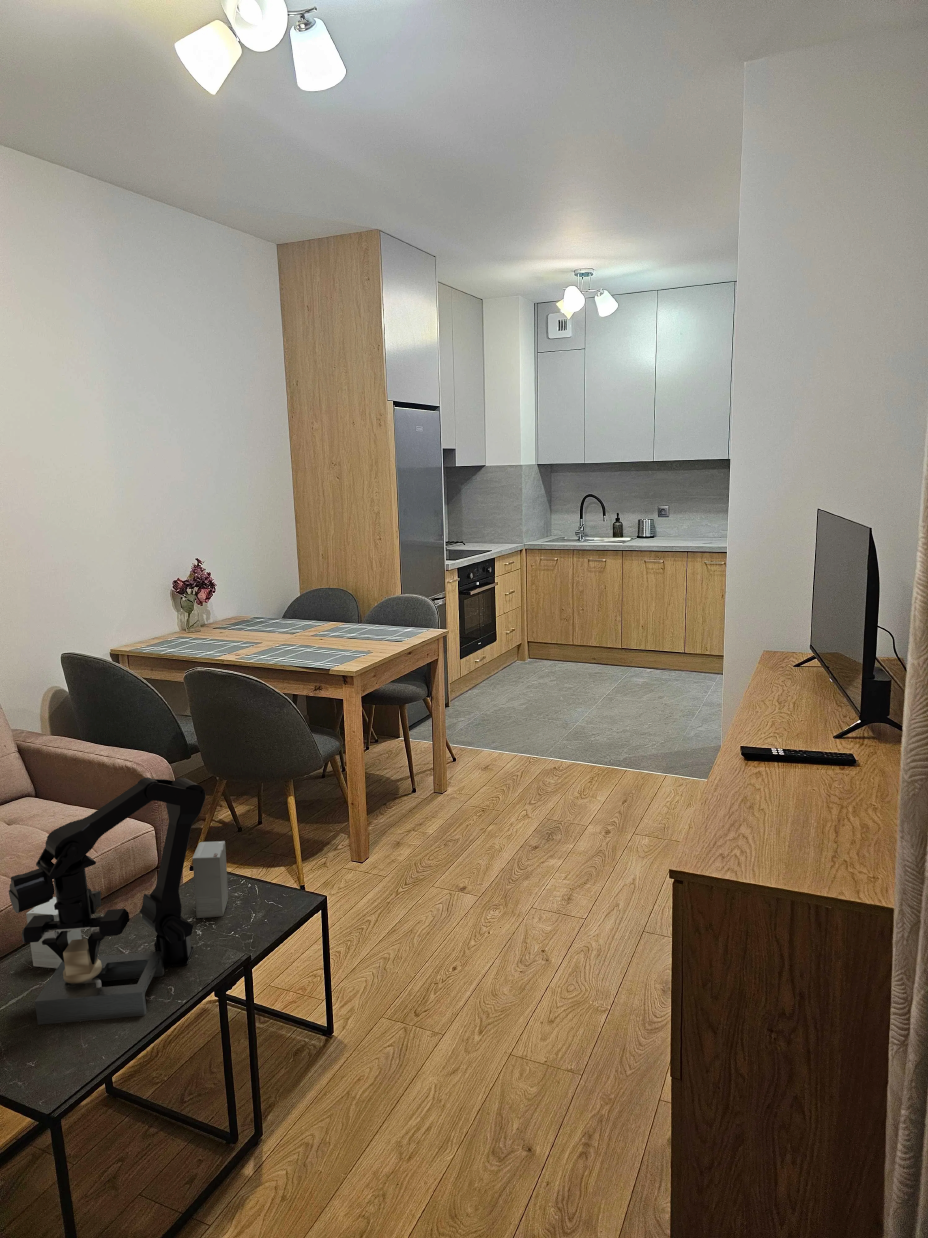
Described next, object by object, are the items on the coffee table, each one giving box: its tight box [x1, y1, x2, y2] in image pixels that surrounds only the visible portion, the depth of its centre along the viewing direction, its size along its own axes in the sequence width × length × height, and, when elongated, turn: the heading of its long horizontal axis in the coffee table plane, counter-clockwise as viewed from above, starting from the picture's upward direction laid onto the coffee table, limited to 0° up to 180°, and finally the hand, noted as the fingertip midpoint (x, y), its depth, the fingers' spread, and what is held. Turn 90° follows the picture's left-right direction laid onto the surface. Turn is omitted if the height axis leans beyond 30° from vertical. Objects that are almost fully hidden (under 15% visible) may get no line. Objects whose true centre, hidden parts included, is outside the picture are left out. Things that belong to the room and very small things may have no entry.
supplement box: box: [25, 896, 83, 969], centre depth 180 cm, size 7×7×13 cm
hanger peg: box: [63, 938, 103, 988], centre depth 165 cm, size 7×7×10 cm
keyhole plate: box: [34, 950, 165, 1026], centre depth 166 cm, size 20×14×5 cm
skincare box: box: [192, 840, 229, 919], centre depth 197 cm, size 8×7×16 cm
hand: (81, 964), depth 165 cm, fingers closed on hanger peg, 4 cm apart
